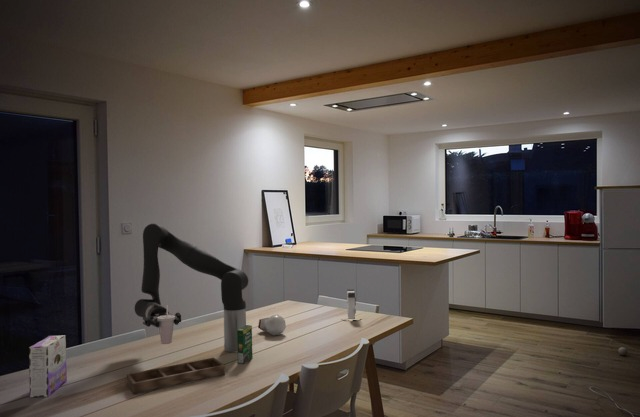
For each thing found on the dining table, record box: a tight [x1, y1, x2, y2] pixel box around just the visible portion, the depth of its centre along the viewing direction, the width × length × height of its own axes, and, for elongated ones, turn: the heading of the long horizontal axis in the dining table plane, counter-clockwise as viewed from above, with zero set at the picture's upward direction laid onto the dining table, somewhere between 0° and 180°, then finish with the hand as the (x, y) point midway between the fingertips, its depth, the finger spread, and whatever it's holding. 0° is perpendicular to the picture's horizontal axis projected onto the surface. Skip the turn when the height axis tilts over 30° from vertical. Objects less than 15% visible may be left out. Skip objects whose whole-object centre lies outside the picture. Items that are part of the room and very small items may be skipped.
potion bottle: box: [257, 314, 287, 336], centre depth 225 cm, size 9×10×15 cm
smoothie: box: [157, 304, 175, 345], centre depth 176 cm, size 6×6×14 cm
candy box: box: [28, 334, 68, 398], centre depth 158 cm, size 14×6×16 cm, turn 5°
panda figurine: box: [346, 288, 357, 319], centre depth 252 cm, size 12×11×15 cm
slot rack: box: [125, 357, 226, 396], centre depth 165 cm, size 31×11×4 cm, turn 123°
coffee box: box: [237, 324, 253, 365], centre depth 184 cm, size 8×3×13 cm, turn 162°
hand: (167, 323), depth 174 cm, fingers closed on smoothie, 6 cm apart
